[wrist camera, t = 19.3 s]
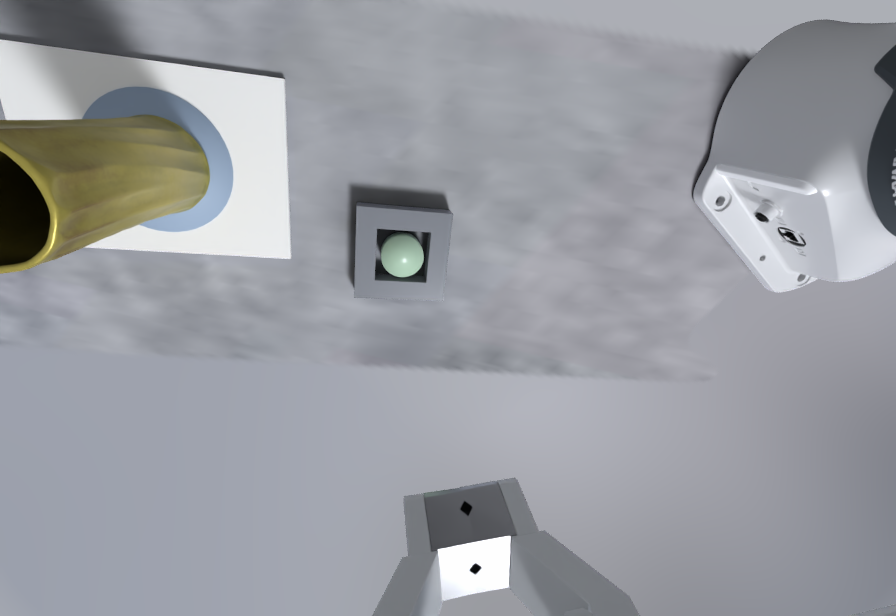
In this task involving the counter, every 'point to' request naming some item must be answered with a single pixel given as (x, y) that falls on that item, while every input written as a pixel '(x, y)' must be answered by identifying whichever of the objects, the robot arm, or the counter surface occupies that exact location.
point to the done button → (402, 254)
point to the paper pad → (199, 113)
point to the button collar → (405, 220)
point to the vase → (90, 182)
